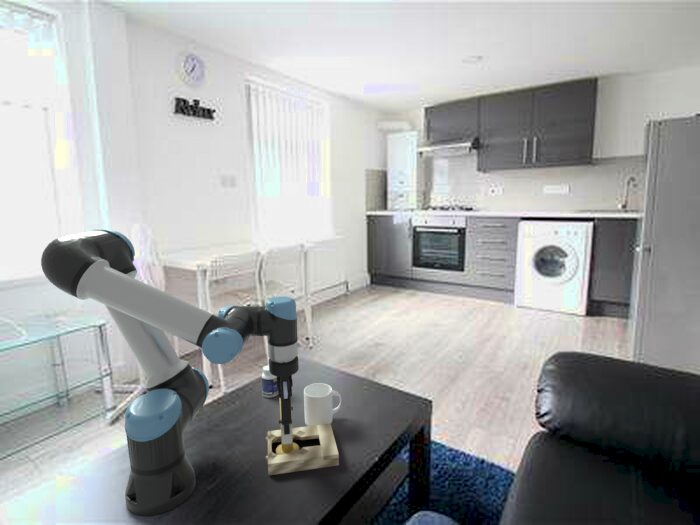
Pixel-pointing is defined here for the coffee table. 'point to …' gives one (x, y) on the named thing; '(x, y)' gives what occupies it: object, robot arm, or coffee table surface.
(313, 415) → the mug
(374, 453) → the coffee table surface
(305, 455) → the keyhole board
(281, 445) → the headed peg
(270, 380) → the pill bottle
